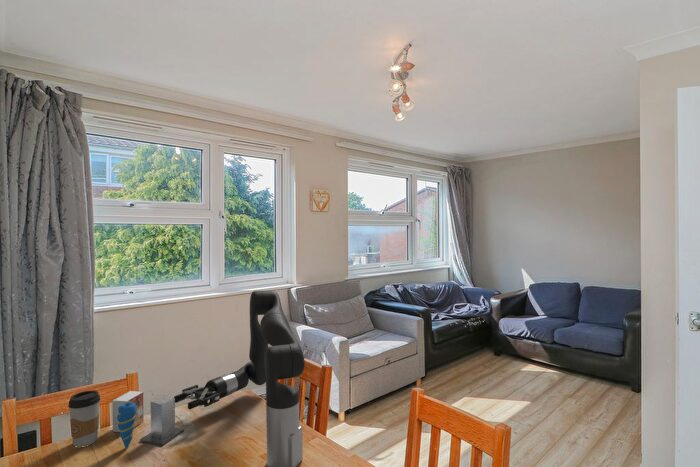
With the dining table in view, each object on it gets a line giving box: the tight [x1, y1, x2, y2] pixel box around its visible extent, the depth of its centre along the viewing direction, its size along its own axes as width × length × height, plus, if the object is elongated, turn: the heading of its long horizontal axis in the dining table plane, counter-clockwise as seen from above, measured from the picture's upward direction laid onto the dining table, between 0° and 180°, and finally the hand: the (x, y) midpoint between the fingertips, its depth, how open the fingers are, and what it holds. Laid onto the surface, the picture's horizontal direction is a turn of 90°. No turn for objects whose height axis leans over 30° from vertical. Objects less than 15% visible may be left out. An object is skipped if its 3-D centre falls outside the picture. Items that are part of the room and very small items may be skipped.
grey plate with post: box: [139, 427, 185, 447], centre depth 125 cm, size 9×9×7 cm
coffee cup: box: [67, 390, 101, 447], centre depth 121 cm, size 8×8×15 cm
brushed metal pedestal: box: [150, 395, 176, 439], centre depth 125 cm, size 5×5×11 cm
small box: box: [111, 390, 145, 433], centre depth 131 cm, size 8×6×10 cm
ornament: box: [117, 399, 137, 449], centre depth 118 cm, size 5×5×15 cm
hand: (181, 403), depth 130 cm, fingers open, 8 cm apart
